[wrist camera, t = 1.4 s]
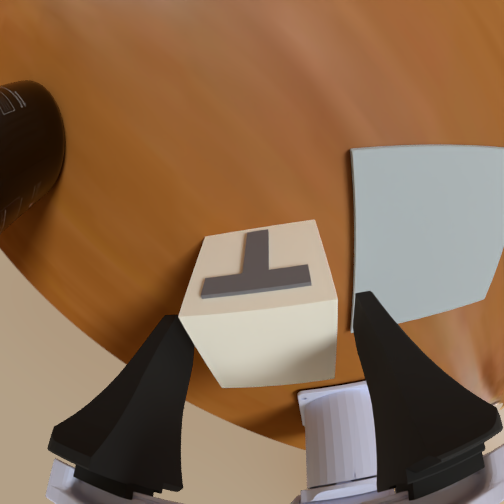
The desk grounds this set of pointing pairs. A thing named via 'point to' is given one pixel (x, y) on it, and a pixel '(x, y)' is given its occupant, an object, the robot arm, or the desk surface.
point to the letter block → (263, 307)
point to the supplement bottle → (27, 147)
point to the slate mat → (426, 225)
